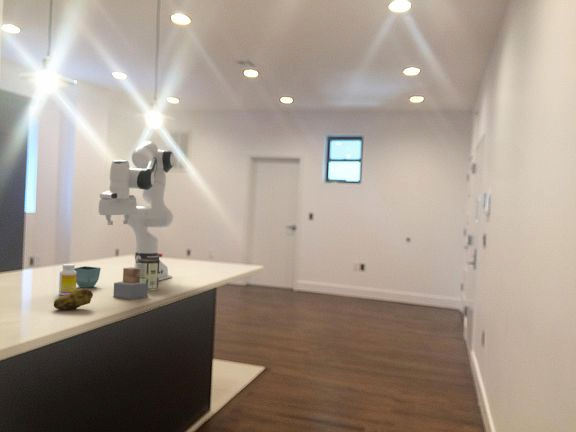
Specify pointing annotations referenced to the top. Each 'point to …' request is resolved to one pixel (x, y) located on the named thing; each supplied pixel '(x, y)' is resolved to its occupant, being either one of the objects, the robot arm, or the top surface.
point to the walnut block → (131, 275)
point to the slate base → (130, 290)
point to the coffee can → (149, 272)
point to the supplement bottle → (67, 279)
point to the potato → (74, 299)
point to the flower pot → (87, 276)
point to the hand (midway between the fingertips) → (118, 224)
